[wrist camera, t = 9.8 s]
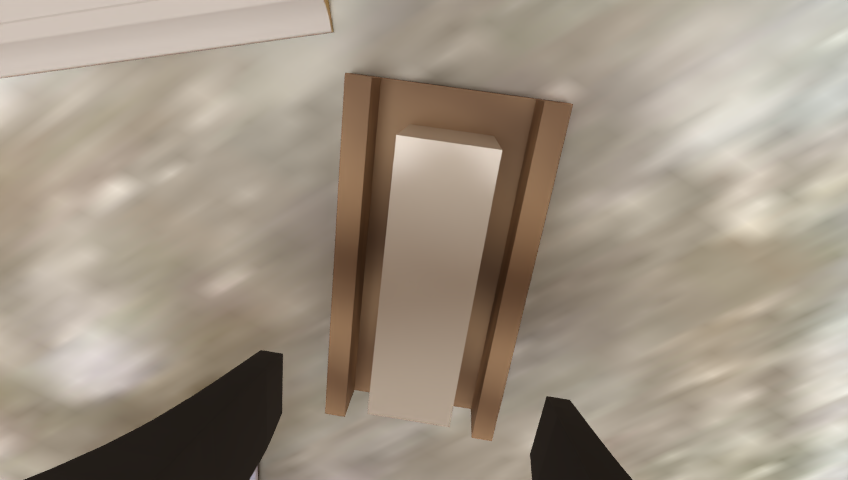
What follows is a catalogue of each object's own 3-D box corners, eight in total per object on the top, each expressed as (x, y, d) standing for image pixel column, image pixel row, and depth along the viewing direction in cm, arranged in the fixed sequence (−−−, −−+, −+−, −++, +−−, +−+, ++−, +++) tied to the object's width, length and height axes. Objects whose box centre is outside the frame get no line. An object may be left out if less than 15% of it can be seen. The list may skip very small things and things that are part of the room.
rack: (497, 400, 24) (501, 442, 21) (332, 373, 24) (315, 411, 22) (567, 102, 18) (586, 106, 16) (351, 73, 19) (331, 71, 16)
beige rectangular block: (451, 369, 22) (449, 427, 19) (383, 358, 22) (367, 413, 19) (494, 135, 18) (502, 150, 14) (409, 123, 18) (396, 135, 14)
